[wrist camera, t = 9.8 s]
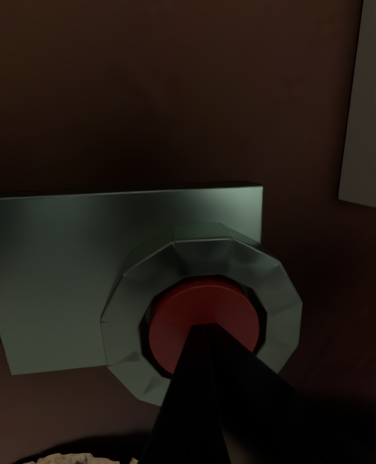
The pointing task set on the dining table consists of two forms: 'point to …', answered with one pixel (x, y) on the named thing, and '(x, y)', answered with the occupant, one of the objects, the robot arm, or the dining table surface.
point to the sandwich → (76, 459)
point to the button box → (130, 274)
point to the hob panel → (362, 119)
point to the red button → (199, 315)
